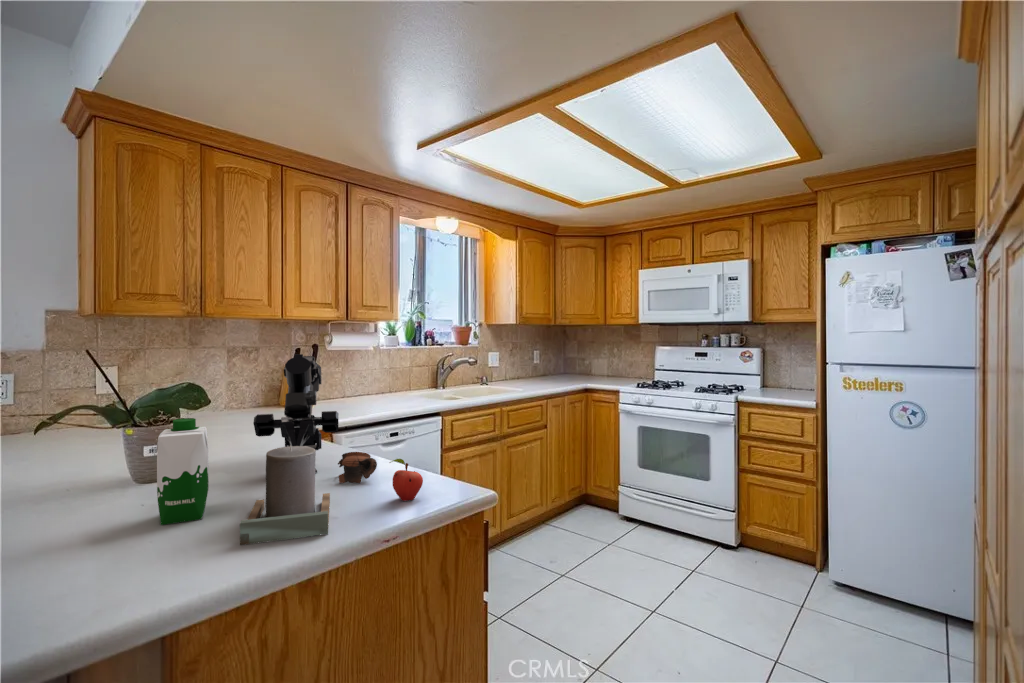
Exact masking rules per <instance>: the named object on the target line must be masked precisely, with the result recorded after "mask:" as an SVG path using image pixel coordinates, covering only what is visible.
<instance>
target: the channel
mask: <svg viewBox="0 0 1024 683" xmlns="http://www.w3.org/2000/svg"><path fill="white" fill-rule="evenodd" d="M321 500H322V501H321V508H320V511H316V512H314V513H305V514H296V515H286V516H277V517H268V518H265V517H262V515H263V512H264V510H265V499H263V498H262V499H256V501H255V502H254V505H253V506H252V509H251V510H250V513H249V515H248V517H247V519H243V520H242V519H241V520H240V523H239V546H243V545H244V546H245V544H246V545H253V543H254V544H261V543H260V542H262V543H268V542H267V541H270V542H277V540H278V541H285V539H286V540H293V538H294V539H299V537H302V538H307V537H306V536H311V537H314V536H313V535H319V536H321V535H320V534H327V535H329V525H330V524H329V522H330V508H329V507H331V506H330V505H331V493H330V492H326V493H322V499H321ZM328 524H329V525H328ZM258 542H259V543H258Z"/></svg>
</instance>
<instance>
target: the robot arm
mask: <svg viewBox="0 0 1024 683" xmlns="http://www.w3.org/2000/svg"><path fill="white" fill-rule="evenodd" d="M283 376H284V378H286V383H287V384H286V385H287V386H288V388H287V393H286V394H285V401H284V403H285V404H284V412H283V413H284V416H280V418H279V419H275V418H274V413H258V414H256V415H255V416H254V417H253V428H254V432H255V436H257V437H260V438H261V437H271V436H272V435H273V434H275V431H276V429H280V434H281V435H280V436H281V438H284V447H290V445H291V446H307V447H311V448H314V449H315V450H316V451H319V450H322V433H321V432H320V429H319V426H321V430H322V432H324V433H326V434H327V433H328V434H329V433H337V432H339V412H338V411H337V410H329V411H328V410H327V411H321V416H315V415H314V414H313V406H316V405H317V393H318V392H319V391H320V385H322V367H321V366H320V365H319V364H318V363H317V362H316V358H315V356H313V355H304V354H302V353H300V354H299V353H298V354H296V353H295V354H294V357H291V358H290V359H288V360H287V361H286V362H285V365H284V368H283ZM316 473H318V470H317V469H316V468H315V474H316Z"/></svg>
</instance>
